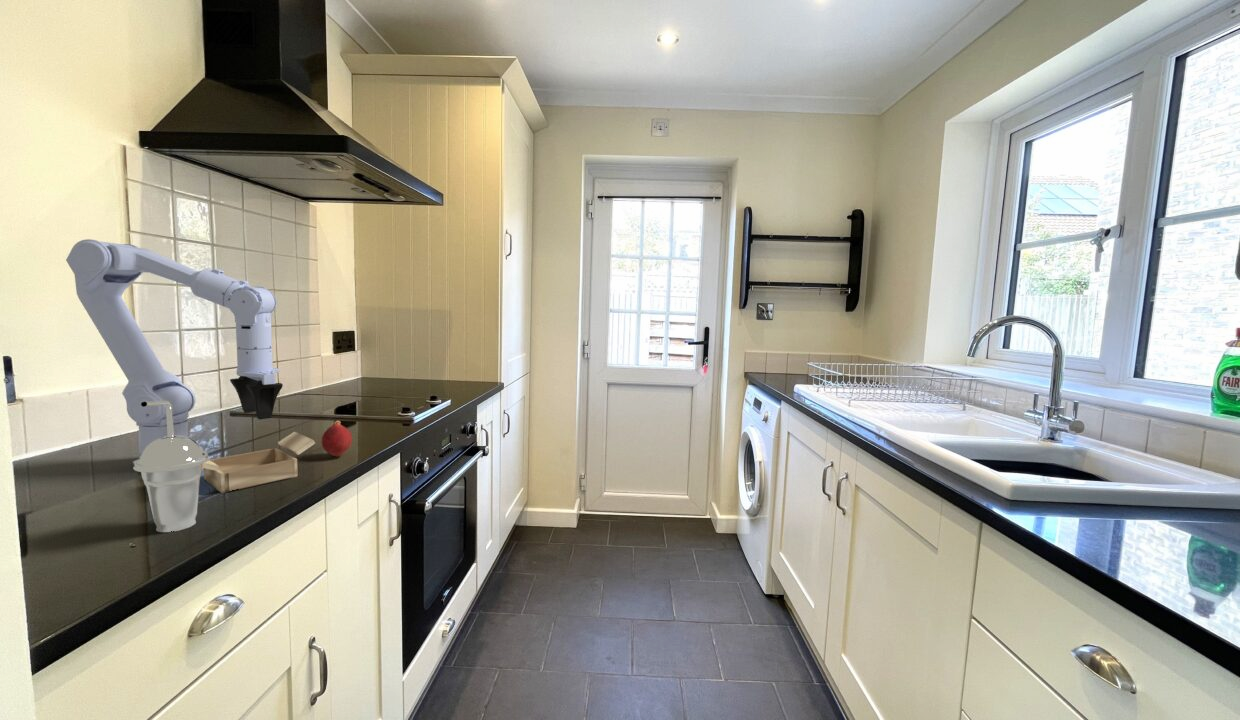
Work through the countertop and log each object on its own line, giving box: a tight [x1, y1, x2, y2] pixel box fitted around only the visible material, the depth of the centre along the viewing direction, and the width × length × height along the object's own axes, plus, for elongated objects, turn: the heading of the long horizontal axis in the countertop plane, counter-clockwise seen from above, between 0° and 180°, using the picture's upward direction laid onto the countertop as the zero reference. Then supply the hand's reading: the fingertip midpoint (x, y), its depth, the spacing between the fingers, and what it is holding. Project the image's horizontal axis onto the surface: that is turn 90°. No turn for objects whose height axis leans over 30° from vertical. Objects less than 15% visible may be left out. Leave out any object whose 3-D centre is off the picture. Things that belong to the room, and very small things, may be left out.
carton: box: [202, 447, 299, 494], centre depth 97 cm, size 11×12×4 cm
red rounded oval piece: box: [321, 420, 353, 458], centre depth 111 cm, size 6×6×8 cm
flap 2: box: [277, 431, 316, 456], centre depth 102 cm, size 9×4×1 cm
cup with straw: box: [132, 401, 211, 533], centre depth 75 cm, size 8×9×20 cm
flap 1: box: [203, 459, 219, 471], centre depth 90 cm, size 9×4×1 cm, turn 53°
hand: (257, 415), depth 103 cm, fingers open, 7 cm apart
